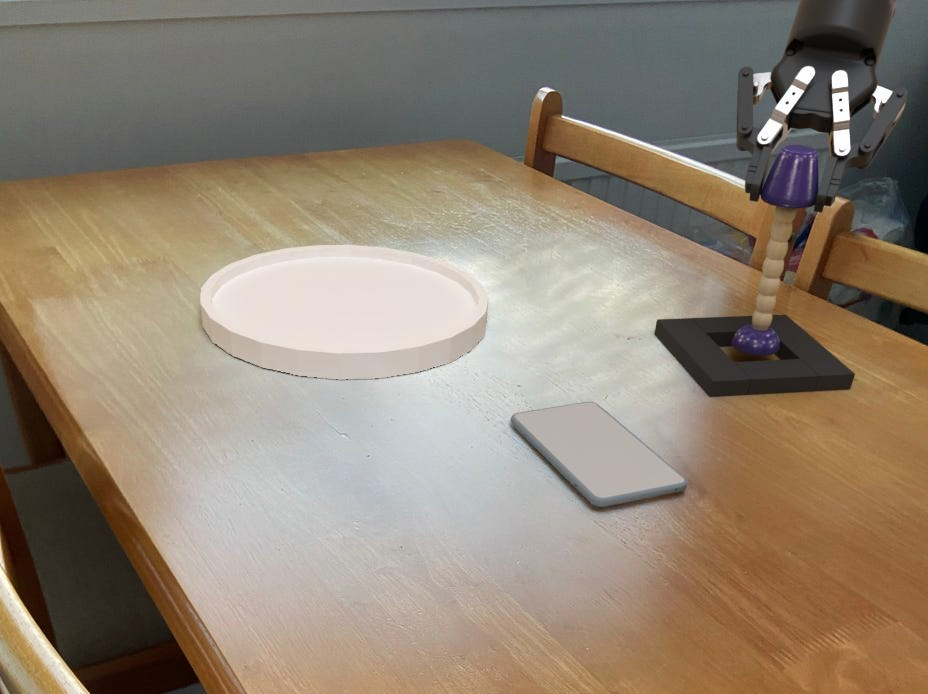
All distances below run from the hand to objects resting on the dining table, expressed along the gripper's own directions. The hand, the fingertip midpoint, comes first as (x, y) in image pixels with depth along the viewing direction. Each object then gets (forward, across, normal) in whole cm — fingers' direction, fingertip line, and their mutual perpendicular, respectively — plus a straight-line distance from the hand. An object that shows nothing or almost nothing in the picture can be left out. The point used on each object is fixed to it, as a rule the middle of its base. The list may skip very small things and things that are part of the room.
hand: (786, 200), depth 82 cm
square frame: (+10, 0, +13) cm, 16 cm away
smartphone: (+25, -8, -3) cm, 27 cm away
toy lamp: (+8, 0, +11) cm, 13 cm away
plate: (+14, -38, +9) cm, 42 cm away
